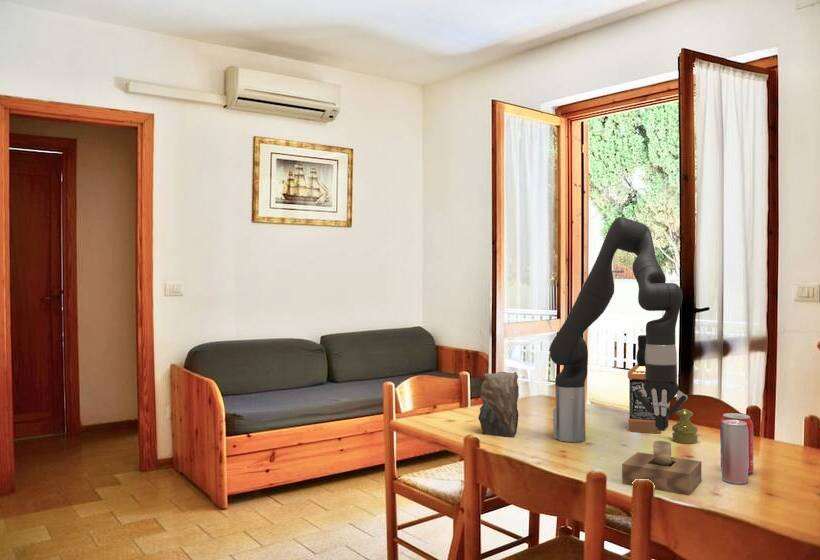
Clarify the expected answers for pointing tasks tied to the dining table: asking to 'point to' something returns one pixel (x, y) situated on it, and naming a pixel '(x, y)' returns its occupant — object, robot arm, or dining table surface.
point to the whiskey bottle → (638, 414)
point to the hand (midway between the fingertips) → (661, 429)
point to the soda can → (750, 435)
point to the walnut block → (663, 473)
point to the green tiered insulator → (685, 428)
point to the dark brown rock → (499, 404)
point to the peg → (662, 453)
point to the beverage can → (734, 451)
